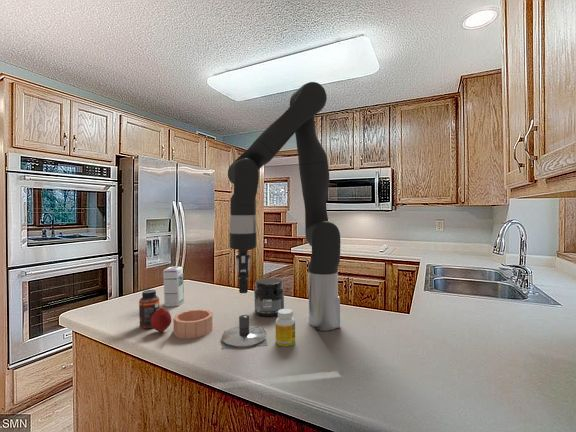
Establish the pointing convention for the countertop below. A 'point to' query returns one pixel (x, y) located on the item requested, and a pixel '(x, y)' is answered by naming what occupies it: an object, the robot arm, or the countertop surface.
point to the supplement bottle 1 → (147, 308)
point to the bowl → (193, 323)
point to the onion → (161, 319)
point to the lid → (244, 334)
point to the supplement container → (268, 297)
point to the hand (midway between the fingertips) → (243, 288)
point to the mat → (251, 346)
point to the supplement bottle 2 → (285, 328)
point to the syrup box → (173, 286)
